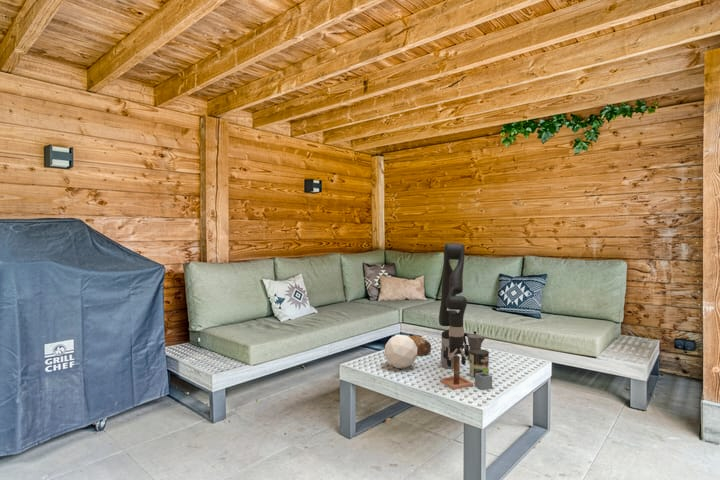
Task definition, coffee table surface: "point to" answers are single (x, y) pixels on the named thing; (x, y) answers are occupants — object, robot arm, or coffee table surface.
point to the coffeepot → (473, 341)
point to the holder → (483, 381)
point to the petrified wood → (421, 345)
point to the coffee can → (479, 361)
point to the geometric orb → (401, 351)
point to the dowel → (456, 370)
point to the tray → (450, 383)
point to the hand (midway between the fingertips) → (456, 365)
